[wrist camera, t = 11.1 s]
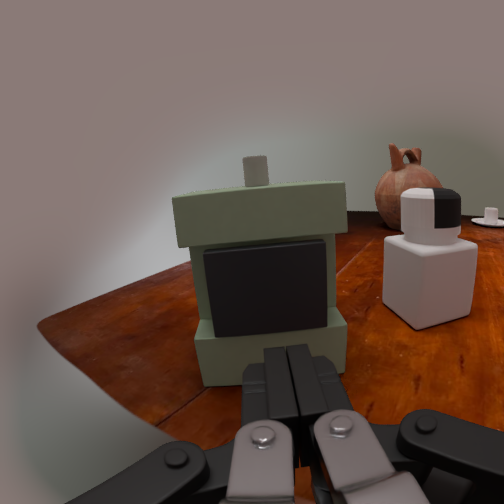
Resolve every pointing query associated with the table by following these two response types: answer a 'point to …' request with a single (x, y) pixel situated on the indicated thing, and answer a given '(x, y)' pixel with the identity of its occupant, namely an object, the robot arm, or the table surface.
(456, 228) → the medicine bottle
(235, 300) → the paddle
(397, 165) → the jug
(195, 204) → the green block with peg
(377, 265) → the table surface
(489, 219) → the candle holder
